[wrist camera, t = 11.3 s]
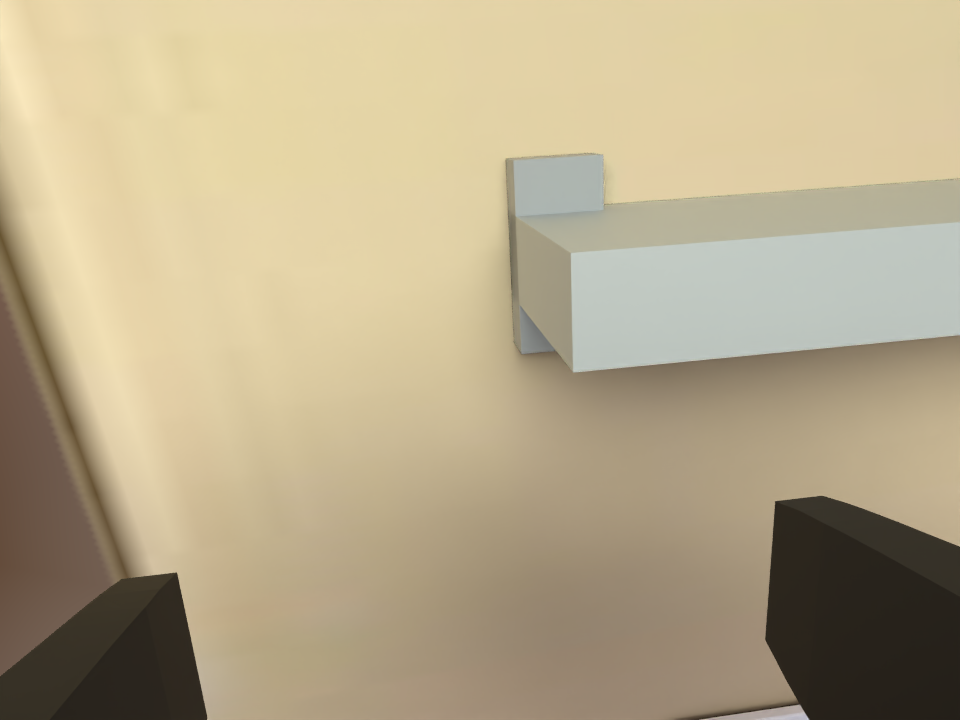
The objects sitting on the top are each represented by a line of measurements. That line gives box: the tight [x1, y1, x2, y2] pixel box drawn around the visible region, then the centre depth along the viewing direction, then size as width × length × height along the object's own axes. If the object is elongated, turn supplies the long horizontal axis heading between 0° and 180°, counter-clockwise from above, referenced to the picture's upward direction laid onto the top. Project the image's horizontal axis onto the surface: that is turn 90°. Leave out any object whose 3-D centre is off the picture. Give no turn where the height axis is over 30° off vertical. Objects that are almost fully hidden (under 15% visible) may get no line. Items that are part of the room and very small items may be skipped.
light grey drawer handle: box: [506, 153, 960, 373], centre depth 16 cm, size 4×16×6 cm, turn 93°
